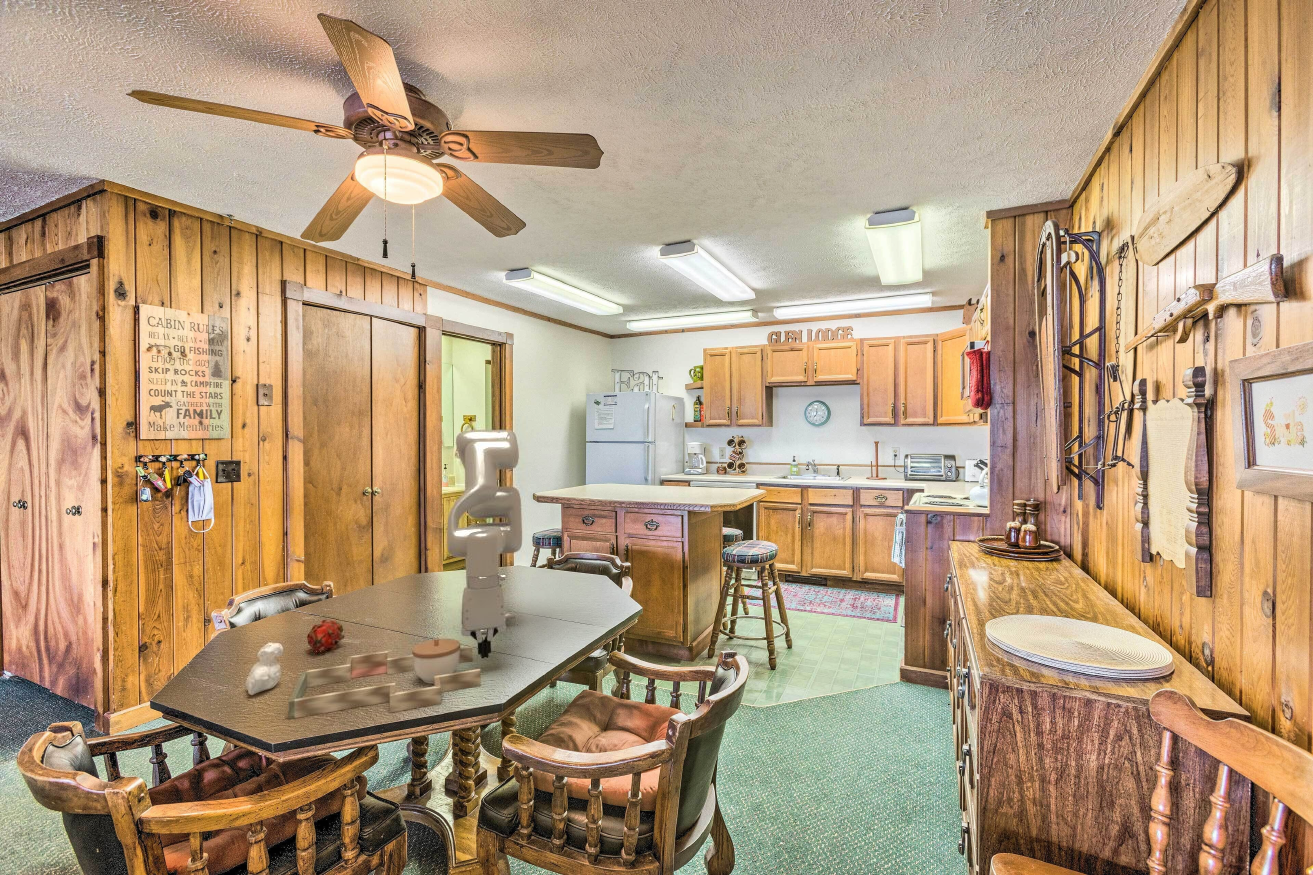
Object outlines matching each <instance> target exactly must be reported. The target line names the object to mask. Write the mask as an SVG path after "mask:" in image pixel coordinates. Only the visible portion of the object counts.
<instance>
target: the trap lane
mask: <svg viewBox="0 0 1313 875" xmlns="http://www.w3.org/2000/svg"><path fill="white" fill-rule="evenodd" d="M473 650H474V648H473V646H472V645H470V646H464V647H460V657H459V663H458V664H461V663H469V662H474V660H473V656H474V654H473V652H474V651H473ZM412 671H415V668H414V664H413V654H411V655H410V654H409V655H403V656H397V657H393V650H385V651H377V652H371V653H366V654H365V653H364V654H359V655H351V656H347V660H346V663H345V664H343V665H336V666H329V667H324V668H316V669H308V670H304V671H302V672H301V673H300V676H299V677H298V680H297V683H296V685H295V687H294V690H293V692H292V694H291V695H290V698H289V701H288V720H290V719H291V720H292V719H297V718H301V717H303V718H304V717H308V716H314V715H315V716H316V715H320V714H327V713H331V712H336V711H343V710H348V709H354V708H359V707H366V706H372V705H377V704H378V705H379V704H383V703H389V714H390V713H396V712H402V711H405V710H406V711H407V710H412V709H417V708H422V707H428V706H434V705H440V704H442V693H446V692H452V691H458V690H462V689H463V690H464V689H467V688H468V689H469V688H473V687H474V688H475V687H479V686H481V685H482V682H481V681H482V680H481V676H482V675H481V674H482V673H481V668H477V669H469V670H465V671H458V672H454V673H451V674H445V675H439V676H434V684H433V686H429V687H423V688H418V689H410V690H406V691H399V692H396V682H391V683H386V684H380V685H379V684H378V685H373V686H366V687H362V688H355V689H349V690H342V691H337V692H330V693H325V694H319V695H313V696H307V697H305V696H304V695H305V693H306V690H307V688H310V687H317V686H323V685H330V684H335V683H336V682H337V683H341V682H342V683H343V682H348V681H351V680H353V679H358V678H364V677H363V676H366V677H370V676H369V675H372V676H376V675H378V676H379V675H383V674H386V675H393V674H398V673H405V672H412Z"/></svg>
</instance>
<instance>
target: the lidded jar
mask: <svg viewBox="0 0 1313 875" xmlns="http://www.w3.org/2000/svg"><path fill="white" fill-rule="evenodd" d="M460 648H461V642H460V641H459V640H457V639H453V638H434V639H430V640H426V641H423V642H420V643H418V644H417V645H415V646H413V647H412V650H411V651H412V652H411V653H412V654H411V655H413V664H414V668H415V670H414V672H415V673H416V675H417V676H418V677H419V679H421V680H422V681H423V682H424V683H426V684H430V685H431V684H433V685H434V676H439V675H445V674H451V673H456V672H455V671H456V670H457V668H458V666H459V664H460V663H459V657H460Z"/></svg>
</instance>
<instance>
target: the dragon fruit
mask: <svg viewBox="0 0 1313 875" xmlns="http://www.w3.org/2000/svg"><path fill="white" fill-rule="evenodd" d="M344 630H345V629H344V627H343V625H342V623H340V622H337V620H336V619H330V620H329V621H327V619H323V620H321V623H320V624H319V623H318V624H314V625H313V626H312V628H311V629H310V631H309V632H308V634H307V635H306V640H307V645H308V646H309V647H310V648H311V649H312V650H314V654H316V655H317V654H319V653H318V652H320V651H323V652H325V651H326V650H328V649H330V648H331V649H333V650H334V649H336V648H337V647H338V645H339V643H340V642H341V641H342V640H344V639H345V637H346V636H345V635H344V634H342V633H343V632H344ZM331 649H330V650H331ZM316 651H317V652H316Z"/></svg>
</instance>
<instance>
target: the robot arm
mask: <svg viewBox="0 0 1313 875" xmlns="http://www.w3.org/2000/svg"><path fill="white" fill-rule="evenodd" d="M455 446H456V451H457V454H458V457H459V459H460V462H461V463H462V465H463V468H464V492H463V493H462V494H461V496H460V497H459V498H457V499H456V501H455V502H454V503H453V505H452V507H451V509H450V511H449V513H448V517H447V522H446V524H447V528H446V529H447V530H446V548H447V551H448V554H449V555H450V556H451V557H453V558H456V559H457V558H464V559H465V578H466V579H465V580H466V581H465V582H466V585H465V586H466V587H464V588H463V591H462V600H461V630H460V633H461V635H462V636H463V637H471V638H472V639H474V640H475V641H477V655H480V657H481V659H482V660H484V659H489V658H490V657H489V654H491V653H492V640H493V639H494V637H495V636H496V635H497V633H500V632H503V631H505V630H507V624H506V621H507V620H514V619H516V612H514V611H513V612H510V611H506V604H505V603H506V602H505V597H504V596H505V595H504V590H503V586H502V584H500V583H501V582H502V581H505V580H506V575H505V574H501V573H499V572H500V571H499V570H500V569H499V560H500V558H499V554H500V555H503V554H504V555H505V554H514V553H517V552H519V551H521V549H522V544H523V525H522V523H523V522H522V500H521V495H520V494H521V493H520V491H519V490H518V488H516V487H514V486H498V470H513V469H515V468H517V466H518V464H519V458H520V451H519V444H518V440H517V435H516V434H515V432H514V431H513V430H510V429H472V430H470V429H469V430H464V431H461V432H459V433H458V434H457V435H456V438H455ZM466 512H467V514H468V516H469V517H471V518H473V519H480V520H481V519H483V520H485V519H502V518H503V519H505V520H506V521H502V522H501V521H500V522H480V523H479V522H478V523H474V524H470V525H468V526H466V527H459V521H460V520H461V518H462V516H463V515H464V514H465V513H466ZM482 634H484V635H485V637H483V636H482Z"/></svg>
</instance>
